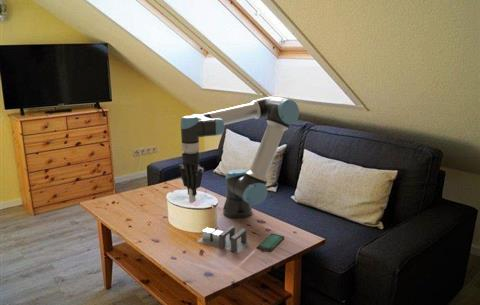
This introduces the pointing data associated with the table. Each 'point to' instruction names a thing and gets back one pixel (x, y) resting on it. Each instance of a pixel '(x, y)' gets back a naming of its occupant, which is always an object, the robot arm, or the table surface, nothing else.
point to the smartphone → (270, 242)
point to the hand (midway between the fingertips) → (192, 201)
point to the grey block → (211, 235)
